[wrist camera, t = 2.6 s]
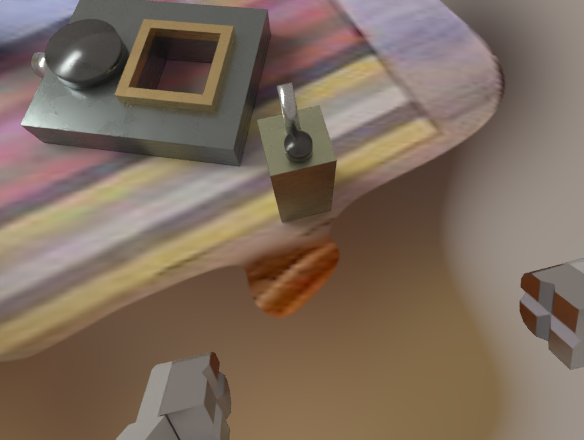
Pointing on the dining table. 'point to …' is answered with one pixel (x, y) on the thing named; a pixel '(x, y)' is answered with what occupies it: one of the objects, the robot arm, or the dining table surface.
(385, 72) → the dining table surface
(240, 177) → the dining table surface
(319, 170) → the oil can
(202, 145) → the grey base plate
